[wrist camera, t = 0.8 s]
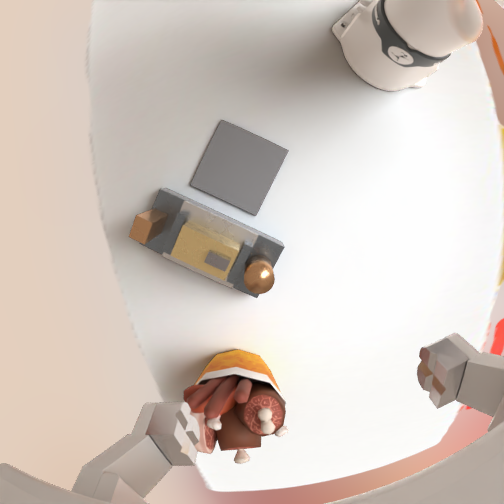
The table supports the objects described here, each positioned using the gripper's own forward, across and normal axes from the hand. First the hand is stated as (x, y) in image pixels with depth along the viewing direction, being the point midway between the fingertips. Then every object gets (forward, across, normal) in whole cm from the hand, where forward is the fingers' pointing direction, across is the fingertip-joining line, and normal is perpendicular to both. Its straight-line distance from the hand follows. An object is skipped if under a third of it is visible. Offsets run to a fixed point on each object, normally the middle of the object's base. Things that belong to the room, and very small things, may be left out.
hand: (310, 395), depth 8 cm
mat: (+36, +2, -9) cm, 37 cm away
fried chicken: (+37, +10, +26) cm, 46 cm away
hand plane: (+36, +8, +1) cm, 37 cm away
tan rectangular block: (+33, +8, +1) cm, 34 cm away
